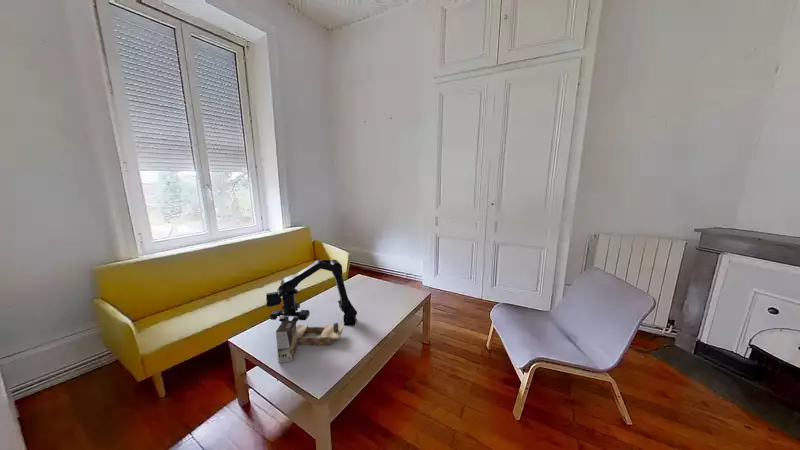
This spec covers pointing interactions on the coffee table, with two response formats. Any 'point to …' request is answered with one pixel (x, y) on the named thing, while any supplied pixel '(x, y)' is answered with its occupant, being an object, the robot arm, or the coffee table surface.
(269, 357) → the coffee table surface
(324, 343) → the walnut box
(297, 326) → the lid
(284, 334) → the coffee box
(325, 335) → the lid
